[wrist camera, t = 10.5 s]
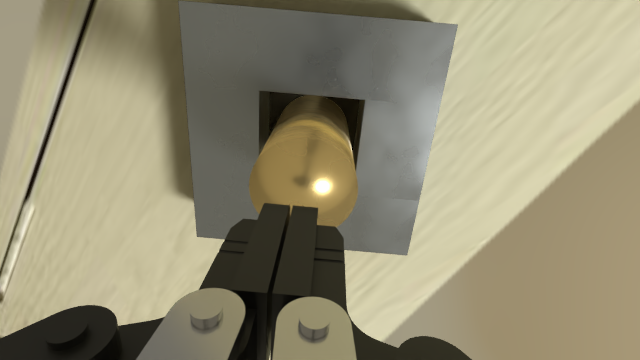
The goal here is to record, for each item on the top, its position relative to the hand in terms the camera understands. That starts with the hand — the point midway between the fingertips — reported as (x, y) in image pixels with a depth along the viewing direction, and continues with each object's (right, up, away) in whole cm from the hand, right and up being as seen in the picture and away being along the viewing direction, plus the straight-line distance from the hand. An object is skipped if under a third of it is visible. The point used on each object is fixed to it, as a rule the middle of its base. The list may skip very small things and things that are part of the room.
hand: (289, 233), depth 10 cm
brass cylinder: (0, +4, +10) cm, 11 cm away
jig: (0, +4, +10) cm, 11 cm away
